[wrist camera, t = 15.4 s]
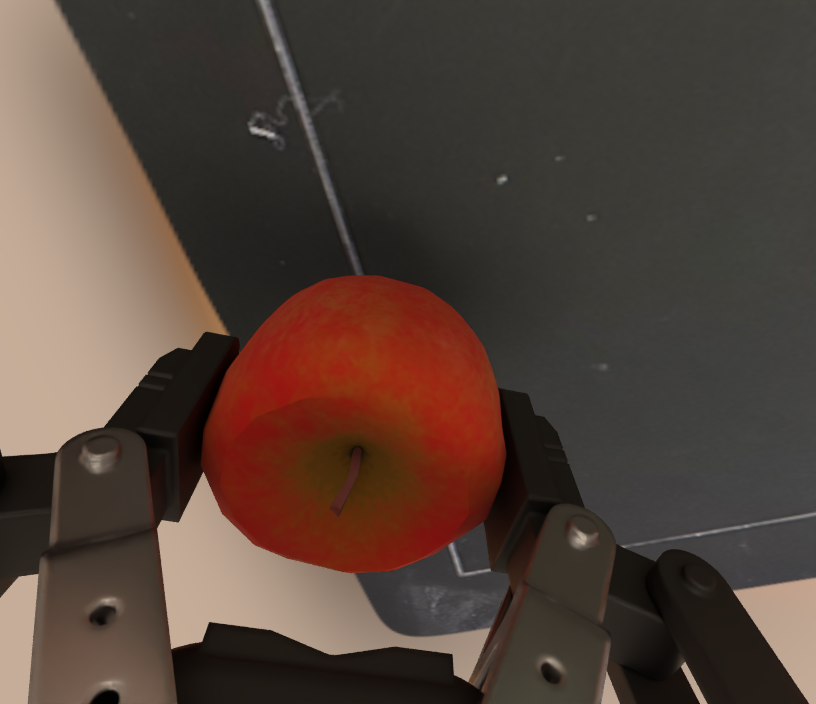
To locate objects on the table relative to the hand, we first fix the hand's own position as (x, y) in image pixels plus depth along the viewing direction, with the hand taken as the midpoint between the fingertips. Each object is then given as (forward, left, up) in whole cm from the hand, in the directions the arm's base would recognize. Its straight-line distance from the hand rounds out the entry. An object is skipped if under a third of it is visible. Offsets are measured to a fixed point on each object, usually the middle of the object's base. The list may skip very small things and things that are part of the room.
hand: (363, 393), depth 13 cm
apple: (0, 0, -4) cm, 4 cm away
